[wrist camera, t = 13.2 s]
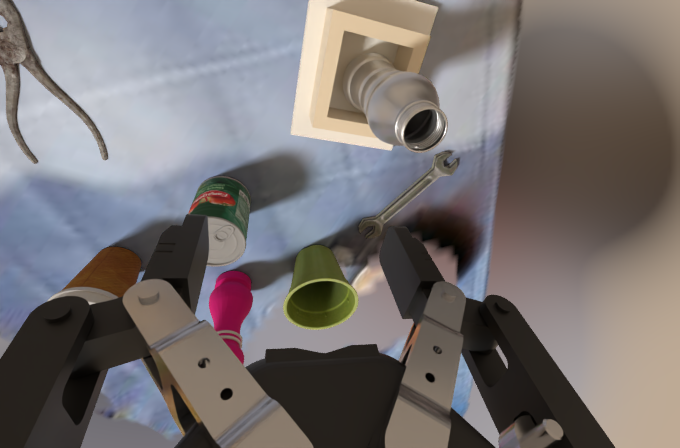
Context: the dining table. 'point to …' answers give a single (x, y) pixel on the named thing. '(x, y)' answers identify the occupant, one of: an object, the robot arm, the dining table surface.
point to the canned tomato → (224, 217)
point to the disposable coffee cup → (105, 276)
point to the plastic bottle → (395, 103)
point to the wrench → (409, 194)
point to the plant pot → (319, 291)
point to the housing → (341, 48)
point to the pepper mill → (231, 308)
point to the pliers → (14, 50)
